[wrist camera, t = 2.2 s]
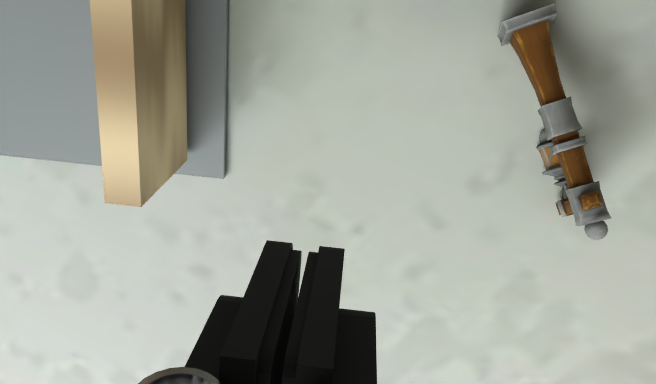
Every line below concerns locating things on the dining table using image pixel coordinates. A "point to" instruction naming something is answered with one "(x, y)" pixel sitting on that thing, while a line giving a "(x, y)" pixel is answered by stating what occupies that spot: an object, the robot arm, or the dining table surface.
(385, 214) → the dining table surface
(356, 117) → the dining table surface
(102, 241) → the dining table surface
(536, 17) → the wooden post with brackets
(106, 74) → the tan wooden board
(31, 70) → the card
